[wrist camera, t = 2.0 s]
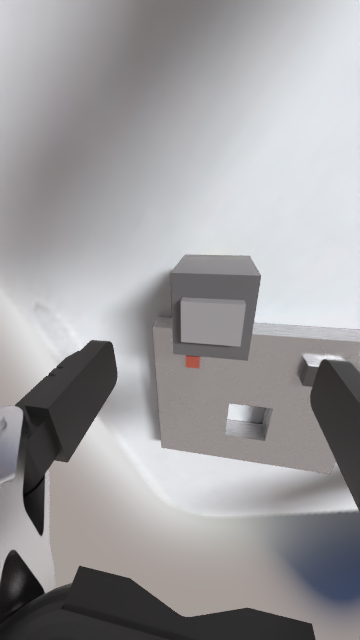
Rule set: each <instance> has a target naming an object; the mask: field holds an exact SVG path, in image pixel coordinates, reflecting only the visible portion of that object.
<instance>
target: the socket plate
mask: <svg viewBox="0 0 360 640" xmlns="http://www.w3.org/2000/svg"><path fill="white" fill-rule="evenodd" d="M152 328H153V342H154V355H155V368H156V381H157V394H158V407H159V420H160V433H161V447H162V448H168V449H174V450H180V451H186V452H193V453H199V454H205V455H212V456H218V457H224V458H231V459H237V460H243V461H250V462H256V463H262V464H269V465H275V466H281V467H288V468H294V469H300V470H307V471H313V472H319V473H326V474H330V472H331V470H332V468H333V466H334V464H335V462H336V460H335V458H334V455H333V453H332V451H331V449H330V447H329V445H328V443H327V440H326V438H325V436H324V434H323V432H322V430H321V428H320V425H319V423H318V421H317V419H316V417H315V415H314V412H313V410H312V408H311V403H310V393H311V390H312V386H313V383H314V380H315V377H316V374H317V371H318V367H319V364H320V362H321V361H322V360H324V359H328V360H341V361H349V362H351V363H352V364H353V366H354V367H355V368H356V369H357V370H358V371H359V372H360V330H357V329H341V328H326V327H310V326H295V325H279V324H264V323H254V324H253V331H252V337H251V344H250V350H249V357H248V361H245V360H234V359H223V358H211V357H200V356H189V355H178V354H173V332H172V318H170V317H158V318H157V320H156V322H155V323H154V325H153V327H152ZM229 403H231V404H239V405H248V406H256V407H264V408H266V409H265V413H264V417H263V422H262V424H257V423H249V422H242V421H234V420H227V415H228V407H229Z"/></svg>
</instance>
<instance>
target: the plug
mask: <svg viewBox="0 0 360 640" xmlns="http://www.w3.org/2000/svg"><path fill="white" fill-rule="evenodd" d="M260 279H261V275H260V273H259V271H258V270H257V268H256V266H255V264H254V263H253V261H252V259H251V258H250V256H229V255H184V257H183V258H182V259H181V260H180V262H179V263H178V264H177V265H176V267H175V268H174V269H173V270H172V272H171V300H172V332H173V354H178V355H189V356H200V357H211V358H223V359H234V360H245V361H248V357H249V350H250V344H251V337H252V331H253V324H254V318H255V311H256V305H257V298H258V292H259V285H260Z"/></svg>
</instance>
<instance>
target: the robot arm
mask: <svg viewBox="0 0 360 640" xmlns="http://www.w3.org/2000/svg"><path fill="white" fill-rule="evenodd" d="M116 381H117V367H116V361H115V355H114V349H113V345H112V343H111V342H109V341H97V340H92V341H90V342H89V343H88V344H87V345H86V346H85V347H84V348H83V349H82V350H81V351H77V352H76V353H74V354H72V355H70V356H68V357H67V358H65V359H64V360H63V361H62V362H61V363H60V364H59V365H58V366H57V368H55V369H53V370H52V371H51V372H50V373H49V375H48V376H46V377H45V378H44V379H43V380H42V381H40V382H39V383H38V384H37V385H36V386H35V387H34V388H33V389H32V390H31V391H30V392H29V393H28V394H27V395H25V397H23V398H22V399H21V400H20V401H19V402H18V403H17V404H16V405H15V406H4V407H0V640H315V635H314V631H313V627H312V624H311V623H307V622H303V621H299V620H295V619H291V618H287V617H283V616H278V615H275V614H271V613H266V612H262V611H258V610H255V609H251V608H243V609H237V610H231V611H225V612H219V613H213V614H207V615H201V616H195V617H184V616H181V615H179V614H178V613H176V612H175V611H173V610H172V609H171V608H169V607H168V606H166V605H165V604H164V603H163V602H161V601H160V600H159V599H157V598H156V597H154V596H153V595H152V594H150V593H149V592H148V591H146V590H145V589H144V588H142V587H141V586H139V585H138V584H137V583H135V582H134V581H133V580H131V579H130V578H126V577H122V576H118V575H114V574H110V573H106V572H102V571H98V570H94V569H90V568H86V567H82V566H79V568H78V570H77V573H76V575H75V578H74V580H73V583H71V584H68V585H64V586H61V587H58V588H55V573H54V564H53V558H52V554H51V550H50V542H49V487H50V486H49V485H50V484H49V483H50V479H49V478H50V476H49V471H48V469H49V467H50V466H51V464H52V462H53V461H54V460H57V461H62V462H68V461H69V460H70V458H71V456H72V455H73V453H74V452H75V450H76V448H77V447H78V445H79V443H80V442H81V440H82V439H83V437H84V435H85V434H86V432H87V430H88V429H89V427H90V426H91V424H92V422H93V421H94V419H95V417H96V416H97V414H98V413H99V411H100V409H101V408H102V406H103V404H104V403H105V401H106V399H107V398H108V396H109V395H110V393H111V391H112V390H113V388H114V386H115V384H116ZM310 403H311V408H312V410H313V412H314V415H315V417H316V419H317V421H318V423H319V425H320V428H321V430H322V432H323V434H324V436H325V438H326V440H327V443H328V445H329V447H330V449H331V451H332V453H333V455H334V458H335V460H336V462H337V464H338V466H339V468H340V471H341V473H342V475H343V477H344V479H345V481H346V483H347V486H348V488H349V490H350V492H351V494H352V496H353V498H354V501H355V503H356V505H357V507H358V509H359V511H360V372H359V371H358V370H357V369H356V368H355V367H354V366H353V364H352V363H351V362H349V361H341V360H328V359H324V360H322V361H321V362H320V364H319V367H318V371H317V374H316V377H315V380H314V383H313V386H312V390H311V393H310ZM359 640H360V638H359Z"/></svg>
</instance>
